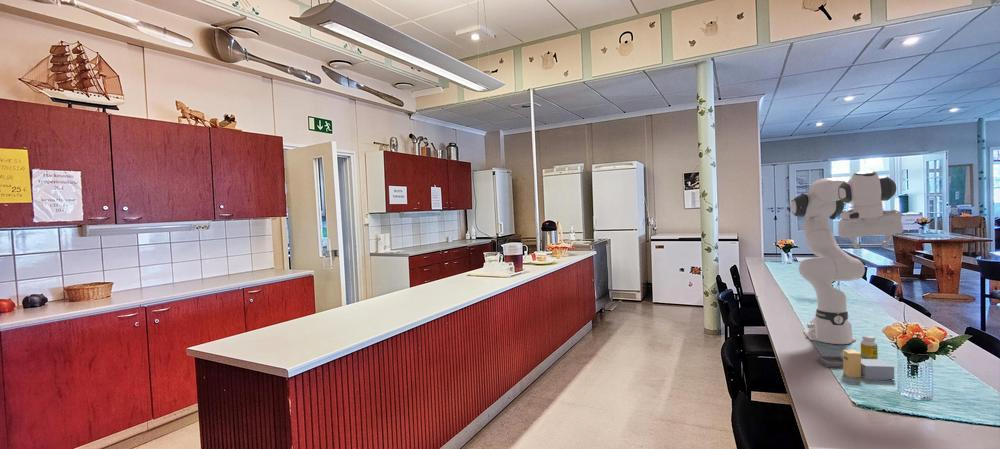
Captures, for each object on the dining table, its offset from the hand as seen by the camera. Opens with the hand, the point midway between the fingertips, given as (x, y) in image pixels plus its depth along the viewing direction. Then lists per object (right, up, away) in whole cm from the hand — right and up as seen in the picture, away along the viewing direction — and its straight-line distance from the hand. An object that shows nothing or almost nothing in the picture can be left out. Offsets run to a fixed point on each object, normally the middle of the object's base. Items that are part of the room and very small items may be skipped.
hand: (871, 247), depth 178 cm
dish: (-12, -48, +4) cm, 49 cm away
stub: (-14, -48, -8) cm, 51 cm away
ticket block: (-7, -48, -10) cm, 49 cm away
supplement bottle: (+5, -47, +7) cm, 48 cm away
